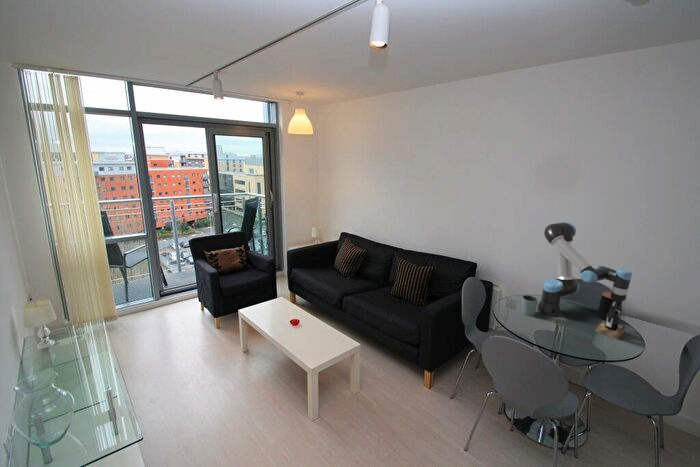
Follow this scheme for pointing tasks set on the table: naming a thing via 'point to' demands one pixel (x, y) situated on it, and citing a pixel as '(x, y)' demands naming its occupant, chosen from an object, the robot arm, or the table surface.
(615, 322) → the supplement bottle
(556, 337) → the table surface
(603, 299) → the coffee jar
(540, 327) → the table surface
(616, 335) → the dock
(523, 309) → the grey green cup
